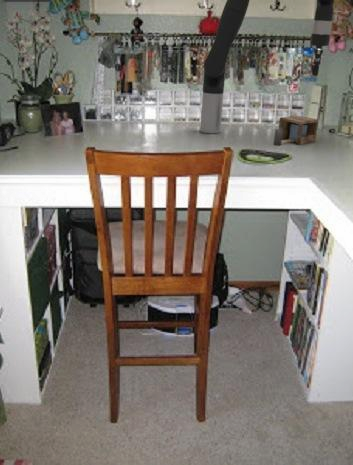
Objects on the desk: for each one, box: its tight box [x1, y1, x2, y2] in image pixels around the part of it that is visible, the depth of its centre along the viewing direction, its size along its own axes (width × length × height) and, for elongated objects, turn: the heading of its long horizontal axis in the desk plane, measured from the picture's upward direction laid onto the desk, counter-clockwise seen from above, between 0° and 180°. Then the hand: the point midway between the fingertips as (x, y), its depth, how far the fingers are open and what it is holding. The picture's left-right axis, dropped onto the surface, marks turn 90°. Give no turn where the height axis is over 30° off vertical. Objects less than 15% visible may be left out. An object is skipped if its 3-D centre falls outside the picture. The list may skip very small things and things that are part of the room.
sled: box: [273, 123, 308, 146], centre depth 198 cm, size 18×5×7 cm, turn 130°
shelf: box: [278, 115, 319, 146], centre depth 201 cm, size 12×11×10 cm
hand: (314, 74), depth 199 cm, fingers open, 8 cm apart
